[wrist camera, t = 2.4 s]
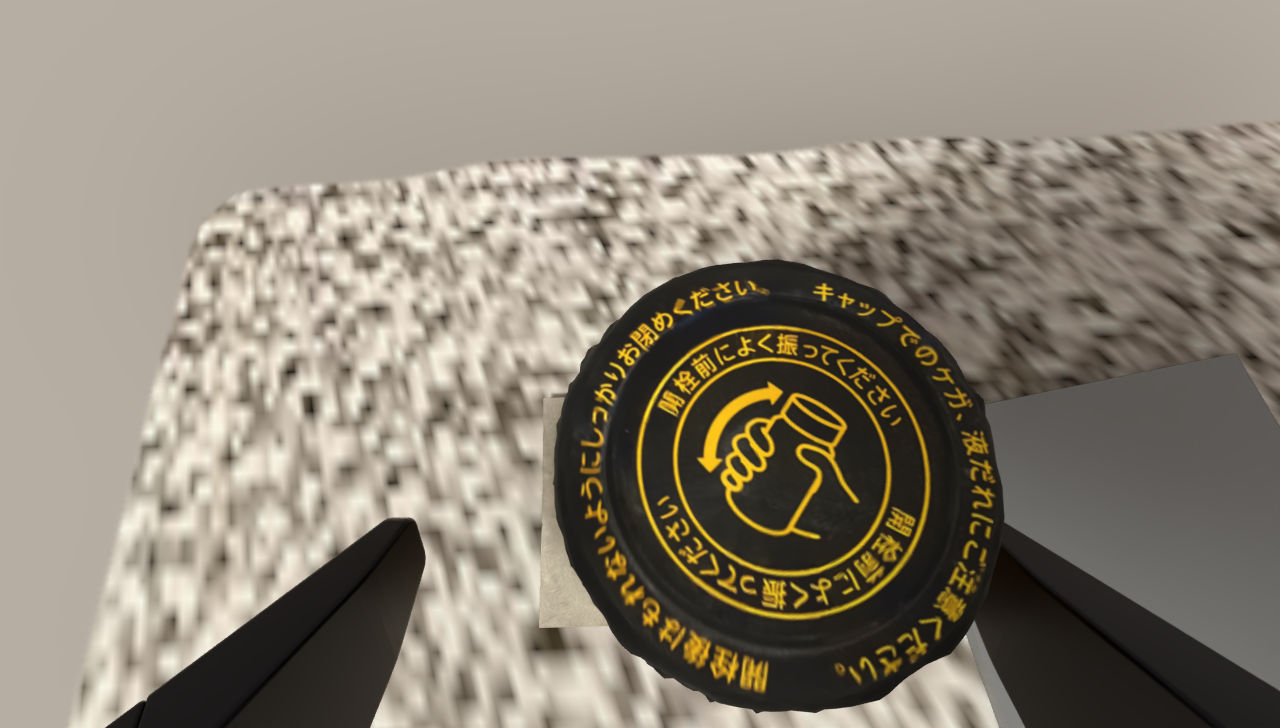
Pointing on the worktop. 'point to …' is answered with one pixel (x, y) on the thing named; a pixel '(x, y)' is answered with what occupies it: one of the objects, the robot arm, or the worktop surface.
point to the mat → (1154, 501)
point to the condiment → (770, 490)
